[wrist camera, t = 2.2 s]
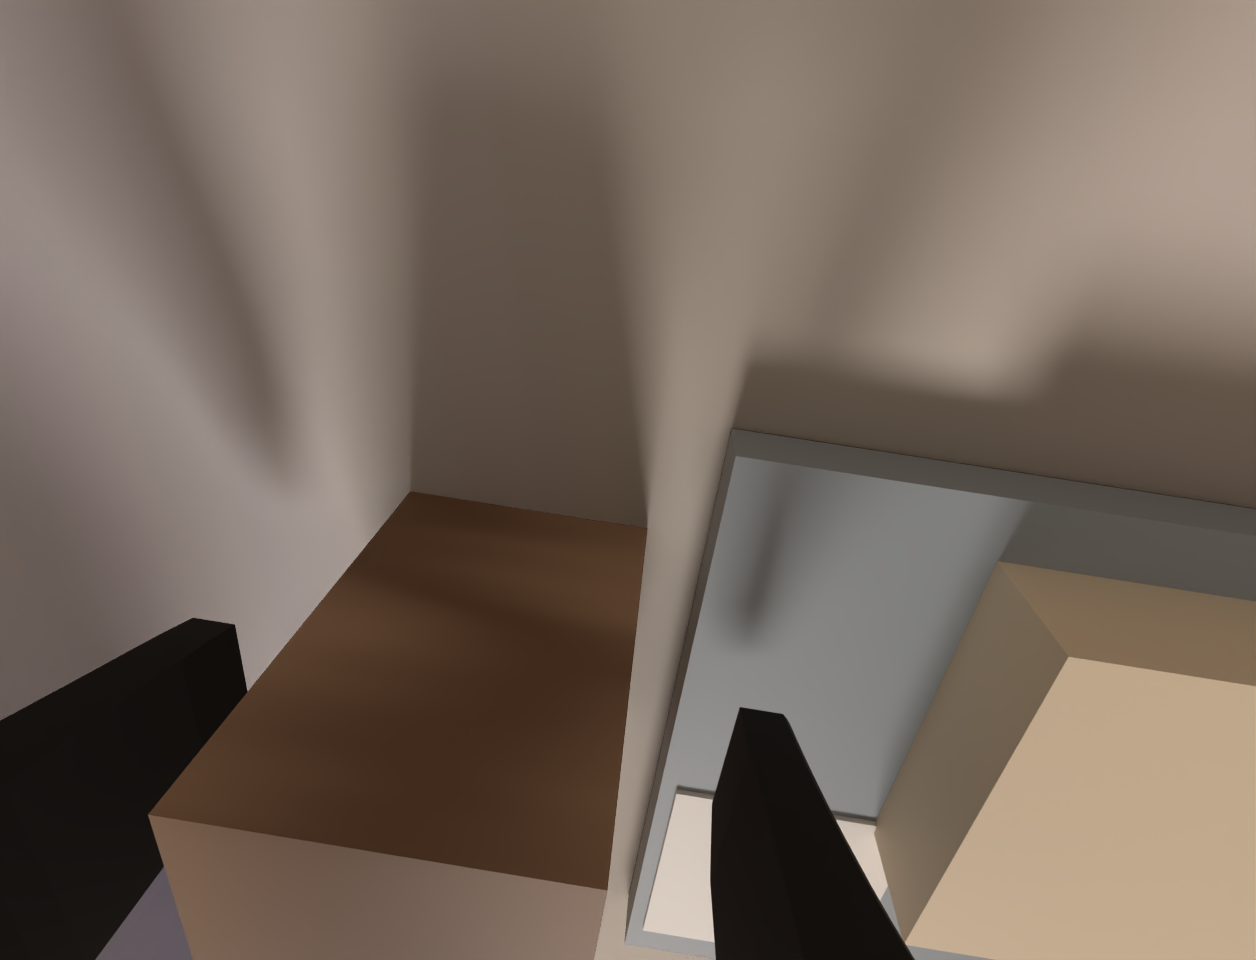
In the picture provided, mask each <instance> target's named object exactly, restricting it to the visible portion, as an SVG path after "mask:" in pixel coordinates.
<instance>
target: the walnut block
mask: <svg viewBox="0 0 1256 960" xmlns="http://www.w3.org/2000/svg"><path fill="white" fill-rule="evenodd" d="M646 537H647V529H646V528H640V527H634V526H627V525H621V524H614V523H608V522H602V521H595V520H589V519H582V518H576V517H570V516H563V515H557V514H550V513H544V512H538V511H531V510H525V509H518V508H512V507H506V506H499V505H493V504H487V503H480V502H474V501H467V500H461V499H455V498H448V497H442V496H435V495H429V494H423V493H416V492H410V493H409V494H408V495H407V496H406V498H405V499H404V500H403V501H402V502H401V504H400V505H399V506H398V507H397V509H396V510H395V511H394V512H393V514H392V515H391V516H390V517H389V518H388V520H387V521H386V522H385V523H384V525H383V526H382V527H381V528H380V530H379V531H378V532H377V533H376V534H375V536H374V537H373V538H372V539H371V541H370V542H369V543H368V544H367V546H366V547H365V548H364V549H363V551H362V552H361V553H360V554H359V555H358V557H357V558H356V559H355V560H354V562H353V563H352V564H351V565H350V567H349V568H348V569H347V570H346V571H345V573H344V574H343V575H342V576H341V578H340V579H339V580H338V581H337V583H336V584H335V585H334V586H333V587H332V589H331V590H330V591H329V592H328V594H327V595H326V596H325V597H324V599H323V600H322V601H321V602H320V603H319V605H318V606H317V607H316V608H315V610H314V611H313V612H312V613H311V615H310V616H309V617H308V618H307V619H306V621H305V622H304V623H303V624H302V626H301V627H300V628H299V629H298V631H297V632H296V633H295V634H294V635H293V637H292V638H291V639H290V640H289V642H288V643H287V644H286V645H285V647H284V648H283V649H282V650H281V652H280V653H279V654H278V655H277V656H276V658H275V659H274V660H273V661H272V663H271V664H270V665H269V666H268V668H267V669H266V670H265V671H264V672H263V674H262V675H261V676H260V677H259V679H258V680H257V681H256V682H255V684H254V685H253V686H252V687H251V688H250V690H249V691H248V692H247V693H246V695H245V696H244V697H243V698H242V700H241V701H240V702H239V703H238V704H237V706H236V707H235V708H234V709H233V711H232V712H231V713H230V714H229V716H228V717H227V718H226V719H225V720H224V722H223V723H222V724H221V725H220V727H219V728H218V729H217V730H216V732H215V733H214V734H213V735H212V737H211V738H210V739H209V740H208V741H207V743H206V744H205V745H204V746H203V748H202V749H201V750H200V751H199V753H198V754H197V755H196V756H195V757H194V759H193V760H192V761H191V762H190V764H189V765H188V766H187V767H186V769H185V770H184V771H183V772H182V773H181V775H180V776H179V777H178V778H177V780H176V781H175V782H174V783H173V785H172V786H171V787H170V788H169V789H168V791H167V792H166V793H165V794H164V796H163V797H162V798H161V799H160V801H159V802H158V803H157V804H156V805H155V807H154V808H153V809H152V810H151V812H150V813H149V814H148V816H149V820H150V823H151V826H152V829H153V832H154V836H155V839H156V842H157V845H158V848H159V852H160V855H161V858H162V861H163V864H164V868H165V871H166V874H167V877H168V880H169V884H170V887H171V890H172V893H173V896H174V900H175V903H176V906H177V909H178V913H179V916H180V919H181V922H182V925H183V929H184V932H185V935H186V938H187V941H188V945H189V948H190V951H191V954H192V957H193V960H594V956H595V951H596V946H597V941H598V936H599V931H600V925H601V920H602V915H603V910H604V905H605V900H606V894H607V888H608V879H609V870H610V861H611V852H612V843H613V834H614V825H615V816H616V807H617V798H618V789H619V780H620V771H621V762H622V753H623V744H624V735H625V726H626V717H627V708H628V699H629V690H630V681H631V672H632V663H633V654H634V645H635V636H636V627H637V618H638V609H639V600H640V591H641V582H642V573H643V564H644V555H645V546H646Z"/></svg>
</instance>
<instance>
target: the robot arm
mask: <svg viewBox="0 0 1256 960" xmlns="http://www.w3.org/2000/svg"><path fill="white" fill-rule="evenodd" d="M246 693H247V687H246V682H245V676H244V671H243V666H242V660H241V655H240V650H239V644H238V639H237V633H236V628H235V625H234V624H228V623H222V622H215V621H209V620H203V619H197V618H192V619H190V620H188V621H186V622H184V623H182V624H180V625H178V626H176V627H174V628H172V629H170V630H168V631H166V632H164V633H162V634H160V635H158V636H156V637H155V638H153V639H151V640H149V641H147V642H145V643H143V644H141V645H140V646H138V647H136V648H134V649H132V650H130V651H128V652H127V653H125V654H123V655H121V656H119V657H117V658H116V659H114V660H112V661H110V662H108V663H106V664H105V665H103V666H101V667H99V668H97V669H95V670H94V671H92V672H90V673H88V674H86V675H85V676H83V677H81V678H79V679H77V680H75V681H73V682H72V683H70V684H68V685H66V686H64V687H62V688H60V689H58V690H57V691H55V692H53V693H51V694H49V695H47V696H45V697H44V698H42V699H40V700H38V701H36V702H34V703H32V704H31V705H29V706H27V707H25V708H23V709H21V710H19V711H17V712H16V713H14V714H12V715H10V716H8V717H6V718H4V719H3V720H1V721H0V960H193V957H192V954H191V951H190V948H189V945H188V941H187V938H186V935H185V932H184V929H183V925H182V922H181V919H180V916H179V913H178V909H177V906H176V903H175V900H174V896H173V893H172V890H171V887H170V884H169V880H168V877H167V874H166V871H165V868H164V864H163V861H162V858H161V855H160V852H159V848H158V845H157V842H156V839H155V836H154V832H153V829H152V826H151V823H150V820H149V816H148V814H149V813H150V812H151V810H152V809H153V808H154V807H155V805H156V804H157V803H158V802H159V801H160V799H161V798H162V797H163V796H164V794H165V793H166V792H167V791H168V789H169V788H170V787H171V786H172V785H173V783H174V782H175V781H176V780H177V778H178V777H179V776H180V775H181V773H182V772H183V771H184V770H185V769H186V767H187V766H188V765H189V764H190V762H191V761H192V760H193V759H194V757H195V756H196V755H197V754H198V753H199V751H200V750H201V749H202V748H203V746H204V745H205V744H206V743H207V741H208V740H209V739H210V738H211V737H212V735H213V734H214V733H215V732H216V730H217V729H218V728H219V727H220V725H221V724H222V723H223V722H224V720H225V719H226V718H227V717H228V716H229V714H230V713H231V712H232V711H233V709H234V708H235V707H236V706H237V704H238V703H239V702H240V701H241V700H242V698H243V697H244V696H245V695H246ZM710 886H711V901H712V914H713V928H714V942H715V955H716V960H915V959H914V957H913V956H912V954H911V952H910V951H909V949H908V947H907V946H906V944H905V942H904V941H903V939H902V937H901V936H900V934H899V932H898V931H897V929H896V927H895V926H894V924H893V922H892V921H891V919H890V917H889V916H888V914H887V912H886V910H885V909H884V907H883V905H882V904H881V902H880V900H879V898H878V897H877V895H876V893H875V891H874V890H873V888H872V886H871V884H870V882H869V881H868V879H867V877H866V875H865V873H864V871H863V870H862V868H861V866H860V864H859V862H858V860H857V859H856V857H855V855H854V853H853V851H852V849H851V848H850V846H849V844H848V842H847V840H846V838H845V837H844V835H843V833H842V831H841V829H840V827H839V825H838V823H837V821H836V819H835V817H834V815H833V813H832V812H831V810H830V808H829V806H828V804H827V802H826V799H825V797H824V795H823V793H822V791H821V789H820V787H819V785H818V783H817V781H816V779H815V777H814V775H813V773H812V771H811V769H810V767H809V765H808V763H807V760H806V758H805V756H804V754H803V752H802V750H801V747H800V745H799V743H798V741H797V739H796V736H795V734H794V732H793V730H792V727H791V725H790V723H789V721H788V720H787V718H786V717H785V716H784V714H780V713H774V712H768V711H762V710H756V709H750V708H743V707H740V708H739V711H738V715H737V718H736V722H735V725H734V729H733V732H732V736H731V739H730V742H729V746H728V749H727V753H726V756H725V760H724V763H723V767H722V770H721V774H720V777H719V781H718V784H717V788H716V791H715V795H714V798H713V801H712V819H711V859H710Z"/></svg>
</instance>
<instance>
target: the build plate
mask: <svg viewBox="0 0 1256 960" xmlns="http://www.w3.org/2000/svg"><path fill="white" fill-rule="evenodd" d="M740 707H743V708H750V709H756V710H762V711H768V712H774V713H780V714H784V716H785V717H786V718H787V720H788V721H789V723H790V725H791V727H792V730H793V732H794V734H795V736H796V739H797V741H798V743H799V745H800V747H801V750H802V752H803V754H804V756H805V758H806V760H807V763H808V765H809V767H810V769H811V771H812V773H813V775H814V777H815V779H816V781H817V783H818V785H819V787H820V789H821V791H822V793H823V795H824V797H825V799H826V802H827V804H828V806H829V808H830V810H831V812H832V813H833V815H834V817H835V819H836V821H837V823H838V825H839V827H840V829H841V831H842V833H843V835H844V837H845V838H846V840H847V842H848V844H849V846H850V848H851V849H852V851H853V853H854V855H855V857H856V859H857V860H858V862H859V864H860V866H861V868H862V870H863V871H864V873H865V875H866V877H867V879H868V881H869V882H870V884H871V886H872V888H873V890H874V891H875V893H876V895H877V897H878V898H879V900H880V902H881V904H882V905H883V907H884V909H885V910H886V912H887V914H888V916H889V917H890V919H891V921H892V922H893V924H894V926H895V927H896V929H897V931H898V932H899V934H900V936H901V937H902V939H903V941H904V942H905V944H906V946H907V947H908V949H909V951H910V952H911V954H912V956H913V957H914V959H915V960H1256V509H1251V508H1245V507H1238V506H1232V505H1225V504H1219V503H1212V502H1206V501H1199V500H1193V499H1186V498H1180V497H1173V496H1167V495H1160V494H1154V493H1147V492H1141V491H1134V490H1128V489H1121V488H1115V487H1108V486H1102V485H1095V484H1089V483H1082V482H1076V481H1069V480H1063V479H1056V478H1050V477H1043V476H1037V475H1030V474H1024V473H1017V472H1011V471H1004V470H998V469H991V468H985V467H978V466H972V465H965V464H959V463H952V462H946V461H939V460H933V459H926V458H920V457H913V456H907V455H900V454H894V453H887V452H881V451H874V450H868V449H861V448H855V447H848V446H842V445H835V444H829V443H822V442H816V441H809V440H803V439H796V438H790V437H783V436H777V435H770V434H764V433H757V432H751V431H744V430H738V429H731V434H730V438H729V443H728V447H727V452H726V456H725V461H724V466H723V470H722V475H721V479H720V484H719V488H718V493H717V497H716V502H715V506H714V511H713V516H712V520H711V525H710V529H709V534H708V538H707V543H706V547H705V552H704V556H703V561H702V566H701V570H700V575H699V579H698V584H697V588H696V593H695V597H694V602H693V606H692V611H691V616H690V620H689V625H688V629H687V634H686V638H685V643H684V647H683V652H682V656H681V661H680V666H679V670H678V675H677V679H676V684H675V688H674V693H673V697H672V702H671V706H670V711H669V715H668V720H667V725H666V729H665V734H664V738H663V743H662V747H661V752H660V756H659V761H658V765H657V770H656V775H655V779H654V784H653V788H652V793H651V797H650V802H649V806H648V811H647V815H646V820H645V825H644V829H643V834H642V838H641V843H640V847H639V852H638V856H637V861H636V865H635V870H634V875H633V879H632V884H631V888H630V893H629V897H628V908H627V920H626V932H625V944H627V945H633V946H639V947H645V948H651V949H657V950H663V951H669V952H675V953H681V954H687V955H693V956H699V957H705V958H711V959H716V955H715V942H714V928H713V914H712V901H711V886H710V859H711V819H712V801H713V798H714V795H715V791H716V788H717V784H718V781H719V777H720V774H721V770H722V767H723V763H724V760H725V756H726V753H727V749H728V746H729V742H730V739H731V736H732V732H733V729H734V725H735V722H736V718H737V715H738V711H739V708H740Z"/></svg>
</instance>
